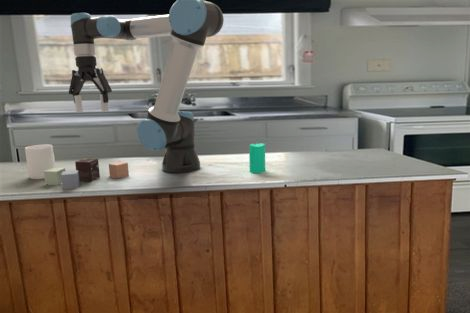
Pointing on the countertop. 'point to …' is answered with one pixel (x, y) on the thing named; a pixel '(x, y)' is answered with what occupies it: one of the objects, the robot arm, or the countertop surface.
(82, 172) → the box
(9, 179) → the countertop surface
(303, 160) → the countertop surface
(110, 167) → the cube terracotta
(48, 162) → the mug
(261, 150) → the candle
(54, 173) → the cube sage
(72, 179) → the cube slate
